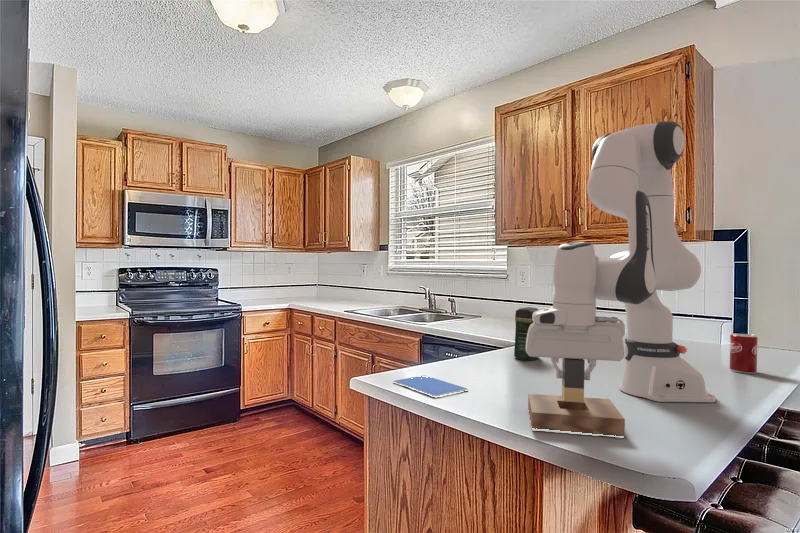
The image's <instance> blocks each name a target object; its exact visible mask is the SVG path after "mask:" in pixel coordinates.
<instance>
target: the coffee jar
mask: <svg viewBox="0 0 800 533" xmlns="http://www.w3.org/2000/svg"><path fill="white" fill-rule="evenodd" d="M535 311H539V308H537V307H530V306H527V307H521V308H518V309H516V311H515V316H514V320H515V321H514V322H515V333H514V334H515V336H514V349H513V350H514V354H513V356H514V358H516V359H518V360H521V361H525V360H527V361H533V360H537V359H538V358H539V357H530V356H529V355H528V354H527V353H526V339H527V333H528V329H529V326H530V325H531V324H532V323H533V320H532V314H533V313H534V312H535Z"/></svg>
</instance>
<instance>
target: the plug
mask: <svg viewBox="0 0 800 533" xmlns="http://www.w3.org/2000/svg"><path fill="white" fill-rule="evenodd" d="M561 365H562V366H561V369H563V370H564V379H562V378H561V396H562V398H563V400H564V401H567V402H581V403H584V397H585V380H584V370H585V359H567V358H562V364H561Z"/></svg>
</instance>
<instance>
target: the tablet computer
mask: <svg viewBox="0 0 800 533" xmlns="http://www.w3.org/2000/svg"><path fill="white" fill-rule="evenodd" d="M420 376H421V377H418V376H415V377H413V376H412V377H407V378H403V379H402V378H401V379H396V380H393V381H392V383H393V382H396V383H398V384H402V385H405V386H408V387H411V388H414V389H416V390H418V391H422V392H424V393H427V394H430V395H432V396H440V395H444V394H449V393H454V392H460V391H465V390H468V391H469V388H467V387H463V386H461V385H457V384H454V383H451V382H448V381H444V380H441V379H437V378H435V377H432V378H430V377H431V376H429V377H428V378H426V377H422V376H423V375H420ZM411 378H413V379H411ZM421 378H422V379H421Z"/></svg>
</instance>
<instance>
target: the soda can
mask: <svg viewBox="0 0 800 533" xmlns="http://www.w3.org/2000/svg"><path fill="white" fill-rule="evenodd" d="M758 342H759V340H758V336H757V335H755V334H749V333H734V332H733V333H731V334H730V336H729V370H730V371H732V372H734V373H739V374H745V375H753V374H756V373H757V372H758Z"/></svg>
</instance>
